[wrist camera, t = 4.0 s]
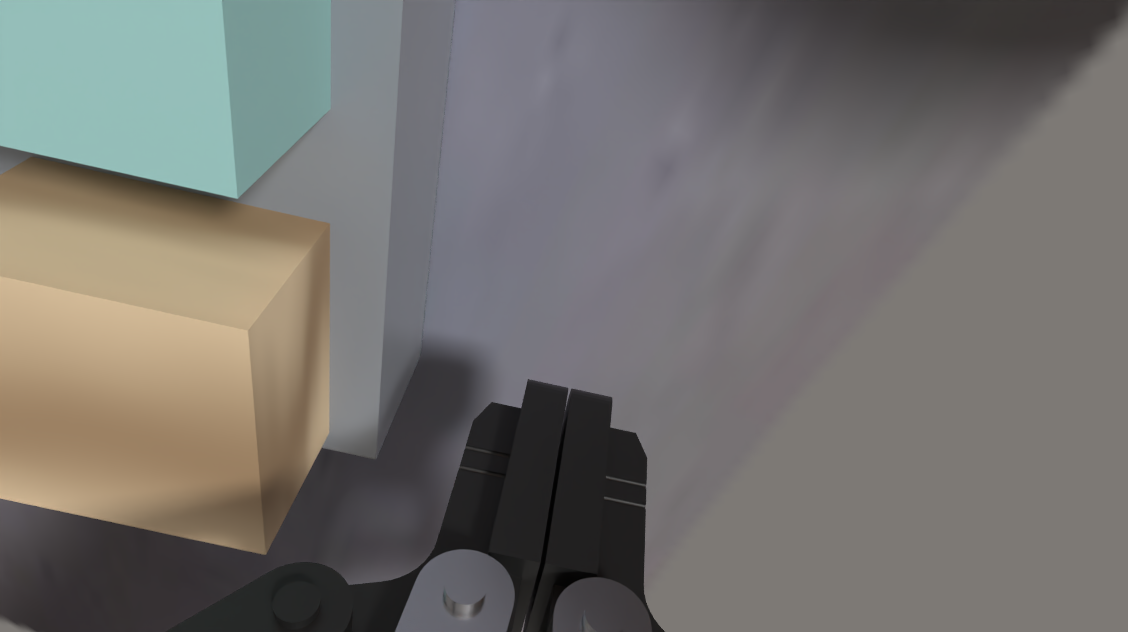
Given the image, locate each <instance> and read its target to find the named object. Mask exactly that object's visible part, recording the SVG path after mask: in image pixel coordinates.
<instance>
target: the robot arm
mask: <svg viewBox="0 0 1128 632" xmlns="http://www.w3.org/2000/svg"><path fill="white" fill-rule="evenodd" d="M567 394H568V388H566V387H561V386H557V385H552V384H548V383H543V382H538V381H534V380H529V379H528V382H527V386H526V390H525V395H524V399H523V403H522V407H521V408H516V407H512V406H507V405H503V404H498V403H493V402H491V403H490V404H489V405H488V406H487V407H486V408H485V409H484V410H483V412H482V413H481V414H480V415H479V416H478V417H477V418H476V419H475V420H474V421H473V424H472V427H471V430H470V434H469V437H468V440H467V444H466V448H465V450H464V454H463V457H462V460H461V463H460V468H459V470H458V473H457V477H456V480H455V483H454V487H453V490H452V493H451V497H450V500H449V503H448V507H447V510H446V513H445V516H444V520H443V523H442V526H441V530H440V533H439V536H438V540H437V543H436V545H435V548H434V550H433V551H432V553H431V554H430V556H429V557H428V558H427V559H426V561H425V562H424V563H423V564H421V565H420V566H419V567H418V568H417V569H415V570H414V571H412V572H410V573H409V574H407V575H404V576H402V577H400V578H397V579H393V580H389V581H383V582H375V583H365V584H355V585H348V584H347V582H346V581H345V579H344V578H343V577H342V576H341V575H340V574H339V573H337V572H336V571H335V570H333V569H331V568H329V567H327V566H325V565H321V564H317V563H310V562H300V563H293V564H288V565H285V566H282V567H279V568H276V569H274V570H272V571H270V572H269V573H267V574H265V575H263V576H262V577H260V578H258V579H256V580H255V581H253V582H251V583H250V584H248V585H246V586H244V587H243V588H241V589H239V590H237V591H236V592H234V593H232V594H230V595H229V596H227V597H225V598H224V599H222V600H220V601H218V602H217V603H215V604H213V605H211V606H210V607H208V608H206V609H205V610H203V611H201V612H199V613H198V614H196V615H194V616H192V617H191V618H189V619H187V620H185V621H184V622H182V623H180V624H179V625H177V626H175V627H173V628H172V629H170V630H168V631H166V632H521V630H522V627H523V623H524V619H525V624H524V630H523V632H664V630H663V629H662V628H661V627H660V626H659V625H658V623H657V622H656V621H655V619H654V618H653V616H652V614H651V613H650V610H649V608H648V606H647V603H646V599H645V595H644V552H645V516H646V509H645V505H646V480H647V457H646V454H645V452H644V450H643V448H642V446H641V443H640V441H639V439H638V437H637V435H636V433H633V432H628V431H623V430H619V429H614V428H610V423H611V411H612V397H608V396H604V395H599V394H594V393H590V392H585V391H581V390H576V389H571V391H570V395H569V398H568V402H567V406H566V401H567ZM565 407H566V410H565ZM564 413H565V414H564ZM525 616H526V618H525Z"/></svg>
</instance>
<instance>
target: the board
mask: <svg viewBox="0 0 1128 632" xmlns="http://www.w3.org/2000/svg"><path fill="white" fill-rule="evenodd" d="M455 3H456V0H331V109H330V110H329V111H328V112H327V113H326V114H325V115H324V116H323V117H322V118H321V119H320V120H319V121H318V122H316V123H315V124H314V125H313V126H312V127H311V128H310V129H309V130H308V131H307V132H306V133H305V134H304V135H303V136H302V137H301V138H300V139H299V140H298V141H297V142H296V143H295V144H294V145H293V146H292V147H291V148H290V149H289V150H288V151H286V152H285V153H284V154H283V155H282V156H281V157H280V158H279V159H278V160H277V161H276V162H275V163H274V164H273V165H272V166H271V167H270V168H269V169H268V170H267V171H266V172H265V173H264V174H263V175H262V176H261V177H260V178H259V179H258V180H257V181H255V182H254V183H253V184H252V185H251V186H250V187H249V188H248V189H247V190H246V191H245V192H244V193H243V194H242V195H241V196H240V197H239V198H238V199H236V198H232V197H227V196H223V195H218V194H214V193H209V192H205V191H200V190H196V189H192V188H187V187H183V186H178V185H174V184H169V183H165V182H160V181H156V180H151V179H147V178H142V177H138V176H133V175H129V174H125V173H120V172H116V171H111V170H107V169H102V168H98V167H93V166H89V165H84V164H80V163H75V162H71V161H66V160H62V159H57V158H53V157H49V156H44V155H40V154H35V153H31V152H26V151H22V150H17V149H13V148H8V147H4V146H0V175H1V174H3V173H4V172H6V171H8V170H10V169H11V168H13V167H15V166H16V165H18V164H20V163H21V162H23V161H25V160H27V159H28V158H30V157H35V158H40V159H44V160H49V161H53V162H58V163H62V164H67V165H71V166H76V167H80V168H84V169H89V170H93V171H98V172H102V173H107V174H111V175H116V176H120V177H125V178H129V179H134V180H138V181H143V182H147V183H152V184H156V185H160V186H165V187H169V188H174V189H178V190H183V191H187V192H192V193H196V194H201V195H205V196H210V197H214V198H219V199H223V200H228V201H232V202H236V203H241V204H245V205H250V206H254V207H259V208H263V209H268V210H272V211H277V212H281V213H286V214H290V215H295V216H299V217H304V218H308V219H312V220H317V221H321V222H326V223H330V369H329V434H328V436H327V438H326V440H325V442H324V444H323V446H322V448H325V449H330V450H334V451H339V452H344V453H348V454H353V455H357V456H362V457H367V458H371V459H377V456H378V454H379V452H380V449H381V447H382V445H383V442H384V440H385V438H386V435H387V433H388V431H389V428H390V426H391V424H392V421H393V419H394V417H395V414H396V412H397V410H398V407H399V405H400V403H401V400H402V398H403V396H404V393H405V391H406V389H407V386H408V384H409V382H410V379H411V377H412V375H413V372H414V370H415V368H416V365H417V363H418V361H419V358H420V356H421V346H422V336H423V326H424V316H425V306H426V296H427V286H428V276H429V266H430V255H431V245H432V235H433V225H434V215H435V205H436V195H437V185H438V175H439V164H440V154H441V144H442V134H443V124H444V114H445V104H446V94H447V84H448V74H449V63H450V53H451V43H452V33H453V23H454V13H455Z"/></svg>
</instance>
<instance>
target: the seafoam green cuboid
mask: <svg viewBox="0 0 1128 632" xmlns="http://www.w3.org/2000/svg"><path fill="white" fill-rule="evenodd" d="M330 109H331V0H0V146H4V147H8V148H13V149H17V150H22V151H26V152H31V153H35V154H40V155H44V156H49V157H53V158H57V159H62V160H66V161H71V162H75V163H80V164H84V165H89V166H93V167H98V168H102V169H107V170H111V171H116V172H120V173H125V174H129V175H133V176H138V177H142V178H147V179H151V180H156V181H160V182H165V183H169V184H174V185H178V186H183V187H187V188H192V189H196V190H200V191H205V192H209V193H214V194H218V195H223V196H227V197H232V198H236V199H238V198H239V197H240V196H241V195H242V194H243V193H244V192H245V191H246V190H247V189H248V188H249V187H250V186H251V185H252V184H253V183H254V182H255V181H257V180H258V179H259V178H260V177H261V176H262V175H263V174H264V173H265V172H266V171H267V170H268V169H269V168H270V167H271V166H272V165H273V164H274V163H275V162H276V161H277V160H278V159H279V158H280V157H281V156H282V155H283V154H284V153H285V152H286V151H288V150H289V149H290V148H291V147H292V146H293V145H294V144H295V143H296V142H297V141H298V140H299V139H300V138H301V137H302V136H303V135H304V134H305V133H306V132H307V131H308V130H309V129H310V128H311V127H312V126H313V125H314V124H315V123H316V122H318V121H319V120H320V119H321V118H322V117H323V116H324V115H325V114H326V113H327V112H328V111H329V110H330Z"/></svg>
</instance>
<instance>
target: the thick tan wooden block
mask: <svg viewBox="0 0 1128 632" xmlns="http://www.w3.org/2000/svg"><path fill="white" fill-rule="evenodd" d="M329 369H330V223H326V222H321V221H317V220H312V219H308V218H304V217H299V216H295V215H290V214H286V213H281V212H277V211H272V210H268V209H263V208H259V207H254V206H250V205H245V204H241V203H236V202H232V201H228V200H223V199H219V198H214V197H210V196H205V195H201V194H196V193H192V192H187V191H183V190H178V189H174V188H169V187H165V186H160V185H156V184H152V183H147V182H143V181H138V180H134V179H129V178H125V177H120V176H116V175H111V174H107V173H102V172H98V171H93V170H89V169H84V168H80V167H76V166H71V165H67V164H62V163H58V162H53V161H49V160H44V159H40V158H35V157H30V158H28V159H27V160H25V161H23V162H21V163H20V164H18V165H16V166H15V167H13V168H11V169H10V170H8V171H6V172H4V173H3V174H1V175H0V498H1V499H6V500H10V501H15V502H20V503H24V504H29V505H34V506H39V507H43V508H48V509H53V510H57V511H62V512H67V513H71V514H76V515H81V516H85V517H90V518H95V519H99V520H104V521H109V522H113V523H118V524H123V525H127V526H132V527H137V528H142V529H146V530H151V531H156V532H160V533H165V534H170V535H174V536H179V537H184V538H188V539H193V540H198V541H202V542H207V543H212V544H216V545H221V546H226V547H231V548H235V549H240V550H245V551H249V552H254V553H259V554H263V555H266V554H267V552H268V550H269V548H270V546H271V544H272V542H273V540H274V538H275V536H276V534H277V532H278V531H279V529H280V527H281V525H282V523H283V521H284V519H285V517H286V515H287V513H288V511H289V509H290V507H291V505H292V504H293V502H294V500H295V498H296V496H297V494H298V492H299V490H300V488H301V486H302V484H303V482H304V480H305V479H306V477H307V475H308V473H309V471H310V469H311V467H312V465H313V463H314V461H315V459H316V457H317V455H318V453H319V452H320V450H321V448H322V446H323V444H324V442H325V440H326V438H327V436H328V434H329Z"/></svg>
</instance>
